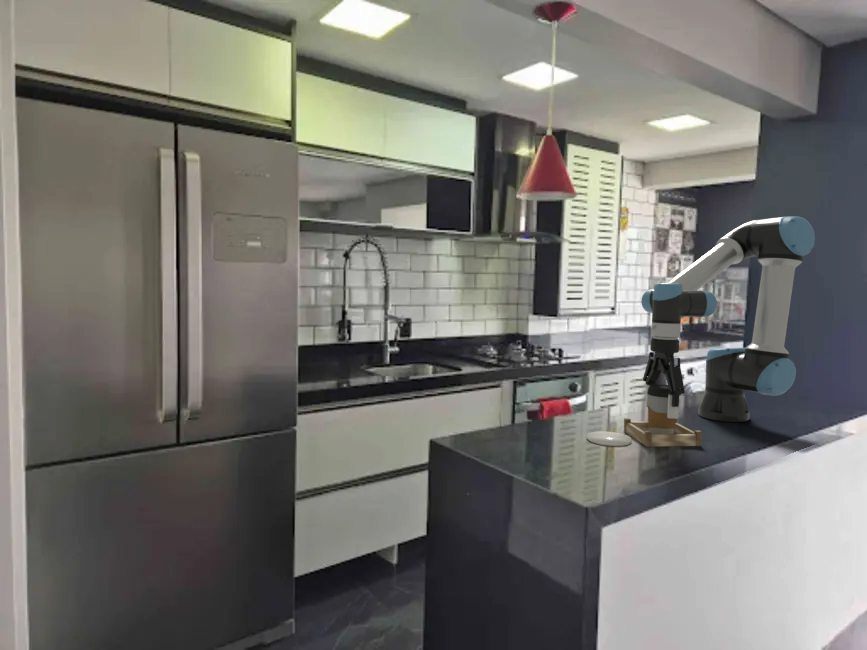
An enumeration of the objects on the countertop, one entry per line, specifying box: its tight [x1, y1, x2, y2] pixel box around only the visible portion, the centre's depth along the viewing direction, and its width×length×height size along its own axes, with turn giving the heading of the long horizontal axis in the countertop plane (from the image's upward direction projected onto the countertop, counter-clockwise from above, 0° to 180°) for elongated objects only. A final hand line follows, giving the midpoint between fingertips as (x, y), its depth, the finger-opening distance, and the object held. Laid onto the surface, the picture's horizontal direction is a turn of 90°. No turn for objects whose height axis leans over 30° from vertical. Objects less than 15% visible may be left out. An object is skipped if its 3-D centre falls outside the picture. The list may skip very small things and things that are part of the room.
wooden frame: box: [623, 417, 703, 448], centre depth 162 cm, size 15×15×4 cm
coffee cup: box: [647, 383, 677, 435], centre depth 162 cm, size 8×8×15 cm
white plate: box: [586, 430, 633, 447], centre depth 160 cm, size 12×12×1 cm
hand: (661, 412), depth 161 cm, fingers open, 13 cm apart
